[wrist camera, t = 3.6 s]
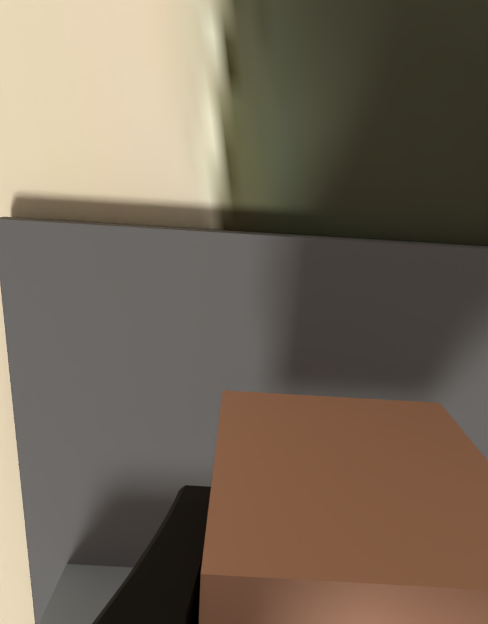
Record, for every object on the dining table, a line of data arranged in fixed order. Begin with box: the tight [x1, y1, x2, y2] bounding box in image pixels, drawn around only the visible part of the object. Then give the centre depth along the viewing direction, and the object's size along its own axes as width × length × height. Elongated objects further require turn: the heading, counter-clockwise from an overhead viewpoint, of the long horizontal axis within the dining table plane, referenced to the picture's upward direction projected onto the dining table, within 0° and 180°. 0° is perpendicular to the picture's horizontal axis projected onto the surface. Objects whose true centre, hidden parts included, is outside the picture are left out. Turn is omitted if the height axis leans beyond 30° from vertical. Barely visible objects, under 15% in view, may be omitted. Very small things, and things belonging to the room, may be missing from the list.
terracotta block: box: [199, 390, 488, 624], centre depth 8 cm, size 4×4×4 cm
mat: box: [0, 217, 488, 624], centre depth 15 cm, size 18×17×1 cm
